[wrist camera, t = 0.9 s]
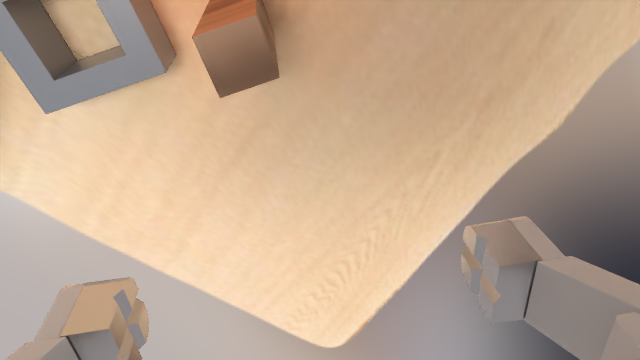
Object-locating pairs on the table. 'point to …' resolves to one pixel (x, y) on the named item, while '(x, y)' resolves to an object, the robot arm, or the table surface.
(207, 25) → the peg
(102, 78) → the socket
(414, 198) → the table surface
